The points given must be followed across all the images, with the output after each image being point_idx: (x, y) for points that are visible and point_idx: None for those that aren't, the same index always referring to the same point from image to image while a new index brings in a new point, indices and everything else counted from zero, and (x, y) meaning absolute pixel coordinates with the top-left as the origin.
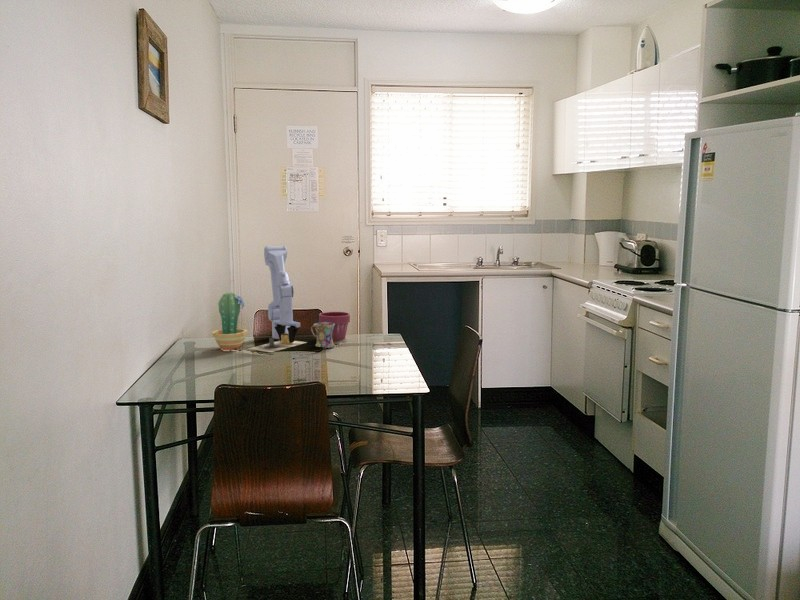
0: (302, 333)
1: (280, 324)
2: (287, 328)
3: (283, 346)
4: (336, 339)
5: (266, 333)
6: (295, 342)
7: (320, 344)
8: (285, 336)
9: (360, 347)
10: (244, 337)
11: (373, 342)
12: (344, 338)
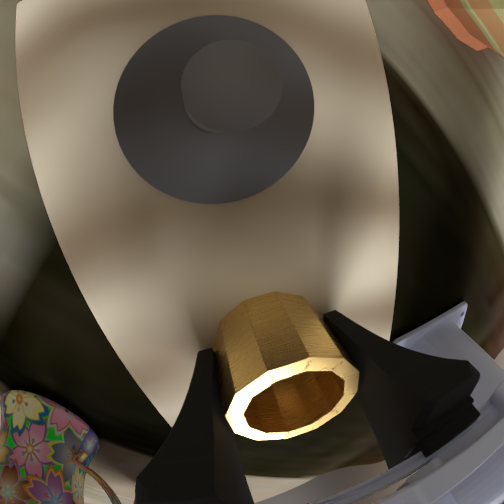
0: None
1: (434, 453)
2: (203, 487)
3: (142, 230)
4: None
5: (497, 343)
6: None
7: (6, 409)
8: (250, 370)
9: None
10: (491, 1)
11: (84, 496)
12: None
